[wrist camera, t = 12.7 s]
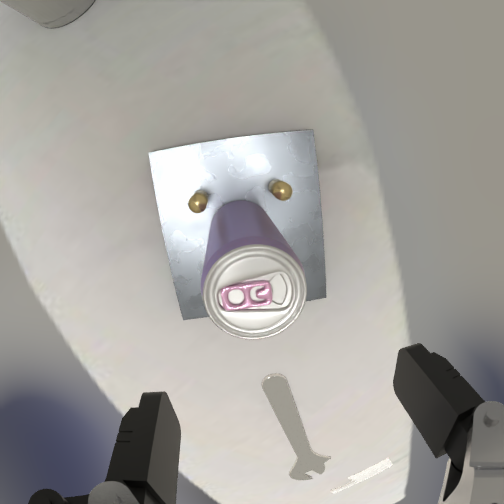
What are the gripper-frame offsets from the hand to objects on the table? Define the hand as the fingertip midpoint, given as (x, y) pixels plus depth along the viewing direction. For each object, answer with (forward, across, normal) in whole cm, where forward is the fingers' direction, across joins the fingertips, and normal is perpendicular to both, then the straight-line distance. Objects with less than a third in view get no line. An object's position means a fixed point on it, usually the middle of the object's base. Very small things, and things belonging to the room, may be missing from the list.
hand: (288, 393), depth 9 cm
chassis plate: (+24, 0, 0) cm, 24 cm away
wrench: (+24, -4, +36) cm, 43 cm away
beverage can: (+23, 0, 0) cm, 23 cm away
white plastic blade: (+24, -17, +58) cm, 65 cm away
